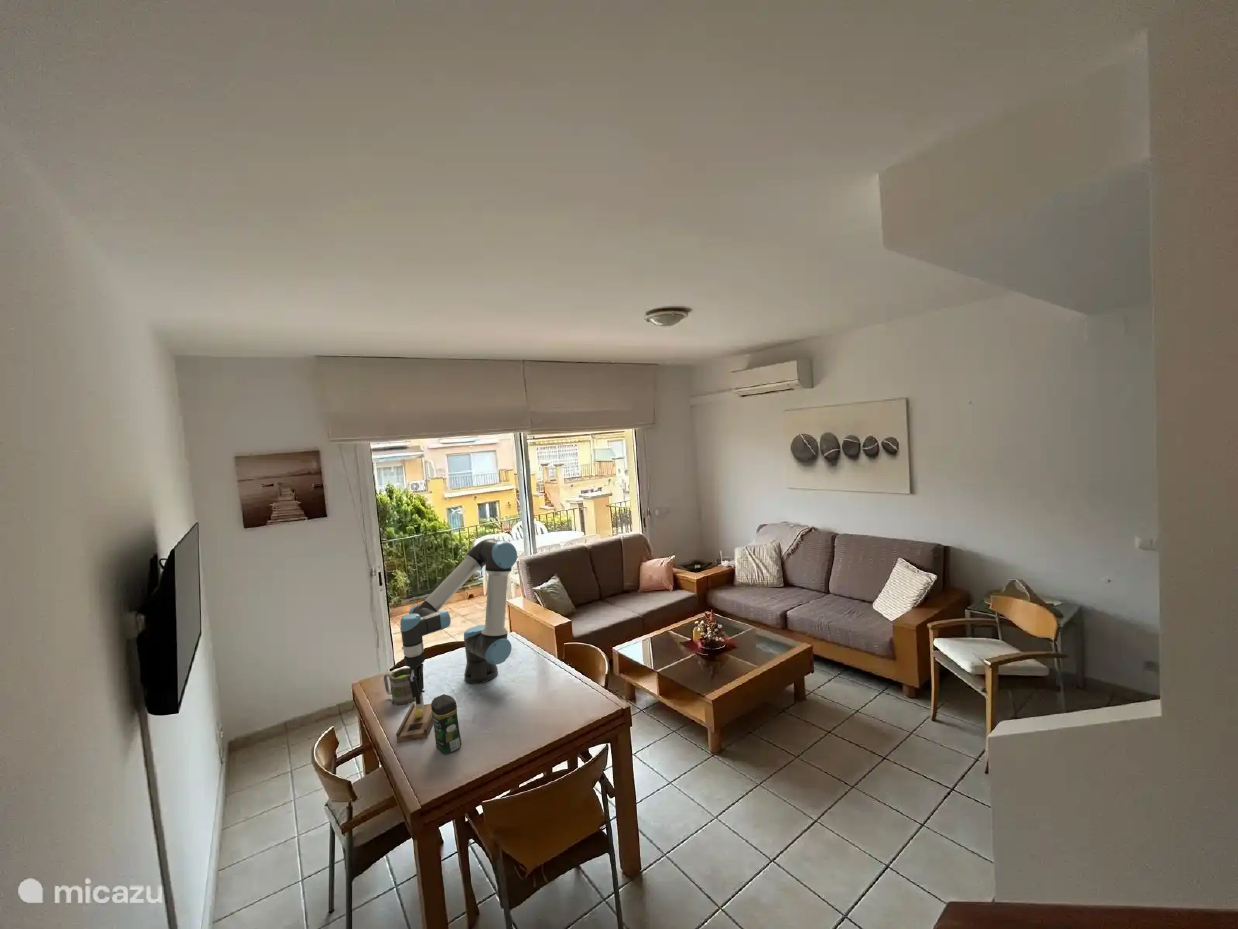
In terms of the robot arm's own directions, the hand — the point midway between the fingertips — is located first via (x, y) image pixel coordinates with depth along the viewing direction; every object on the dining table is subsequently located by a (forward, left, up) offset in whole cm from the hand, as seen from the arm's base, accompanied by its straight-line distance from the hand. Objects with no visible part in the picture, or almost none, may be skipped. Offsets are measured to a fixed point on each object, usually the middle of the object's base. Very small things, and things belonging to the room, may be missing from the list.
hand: (420, 710), depth 211 cm
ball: (0, +3, 0) cm, 3 cm away
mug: (+14, -20, -4) cm, 25 cm away
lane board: (0, +4, -4) cm, 5 cm away
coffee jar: (-15, +23, -4) cm, 28 cm away
